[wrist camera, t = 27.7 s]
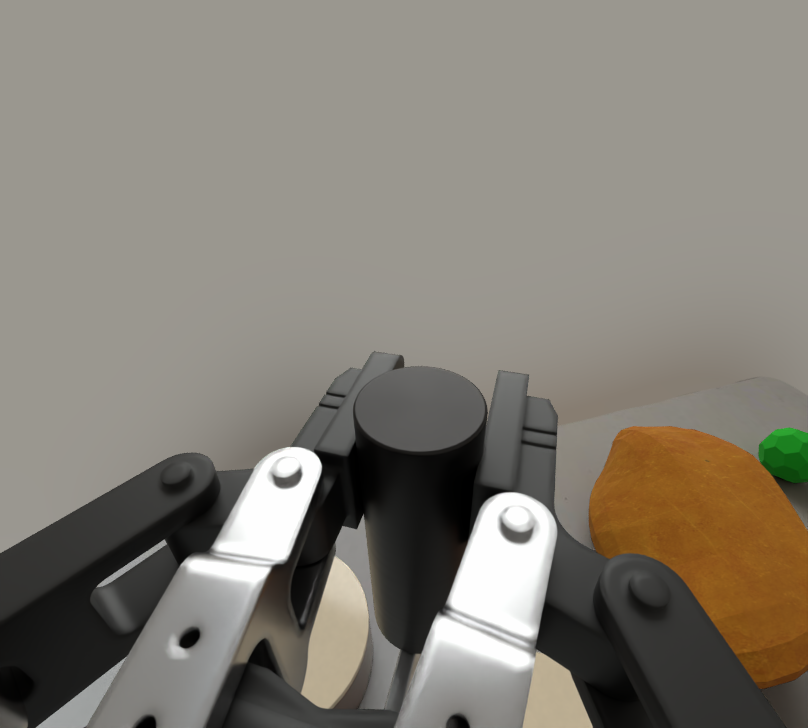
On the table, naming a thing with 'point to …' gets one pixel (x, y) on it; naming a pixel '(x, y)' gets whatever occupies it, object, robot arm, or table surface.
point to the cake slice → (554, 698)
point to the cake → (339, 644)
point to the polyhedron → (786, 454)
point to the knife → (416, 498)
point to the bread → (712, 538)
